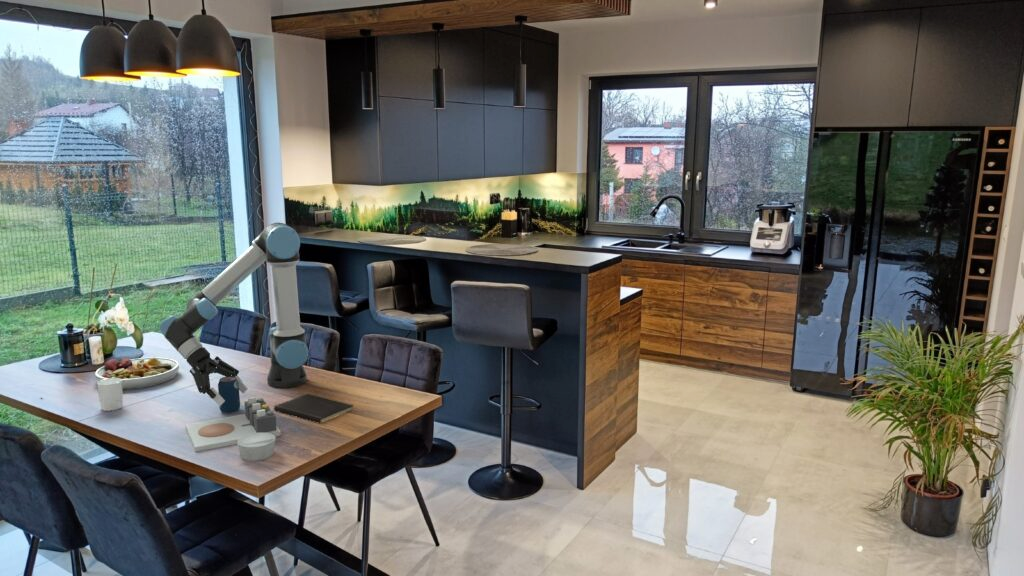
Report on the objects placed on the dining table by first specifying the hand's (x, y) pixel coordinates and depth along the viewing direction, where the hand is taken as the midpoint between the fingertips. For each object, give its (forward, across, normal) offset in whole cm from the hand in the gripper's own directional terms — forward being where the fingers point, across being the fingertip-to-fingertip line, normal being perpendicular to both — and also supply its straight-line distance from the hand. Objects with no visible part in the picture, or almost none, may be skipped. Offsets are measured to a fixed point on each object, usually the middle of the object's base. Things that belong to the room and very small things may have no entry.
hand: (234, 397), depth 257 cm
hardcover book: (+23, -9, +14) cm, 28 cm away
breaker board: (+11, +17, +4) cm, 21 cm away
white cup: (-28, +8, -35) cm, 46 cm away
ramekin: (+24, +31, +17) cm, 43 cm away
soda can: (+2, 0, -5) cm, 6 cm away
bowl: (-38, -22, -46) cm, 64 cm away
